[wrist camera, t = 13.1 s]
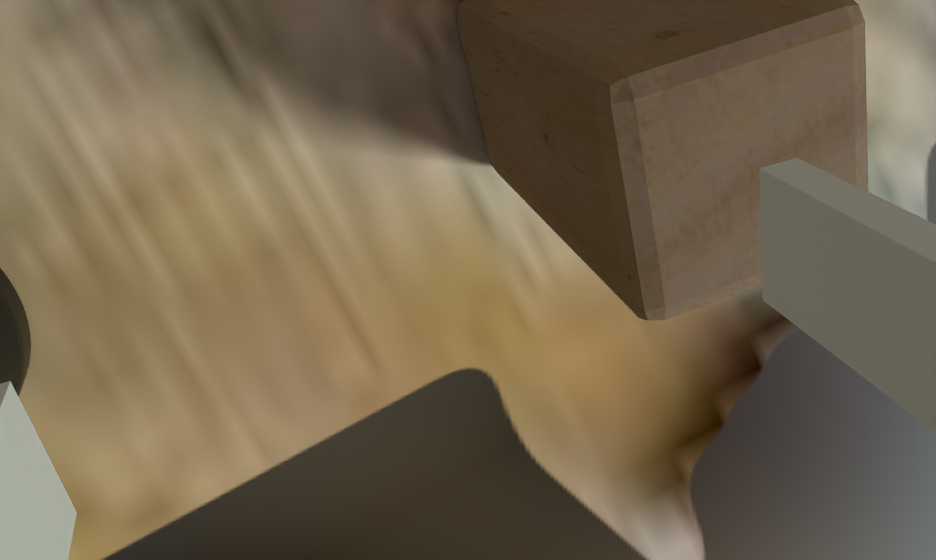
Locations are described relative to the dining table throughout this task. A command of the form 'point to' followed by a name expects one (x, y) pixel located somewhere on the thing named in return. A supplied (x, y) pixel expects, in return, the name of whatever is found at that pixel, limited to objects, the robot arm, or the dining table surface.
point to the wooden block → (665, 126)
